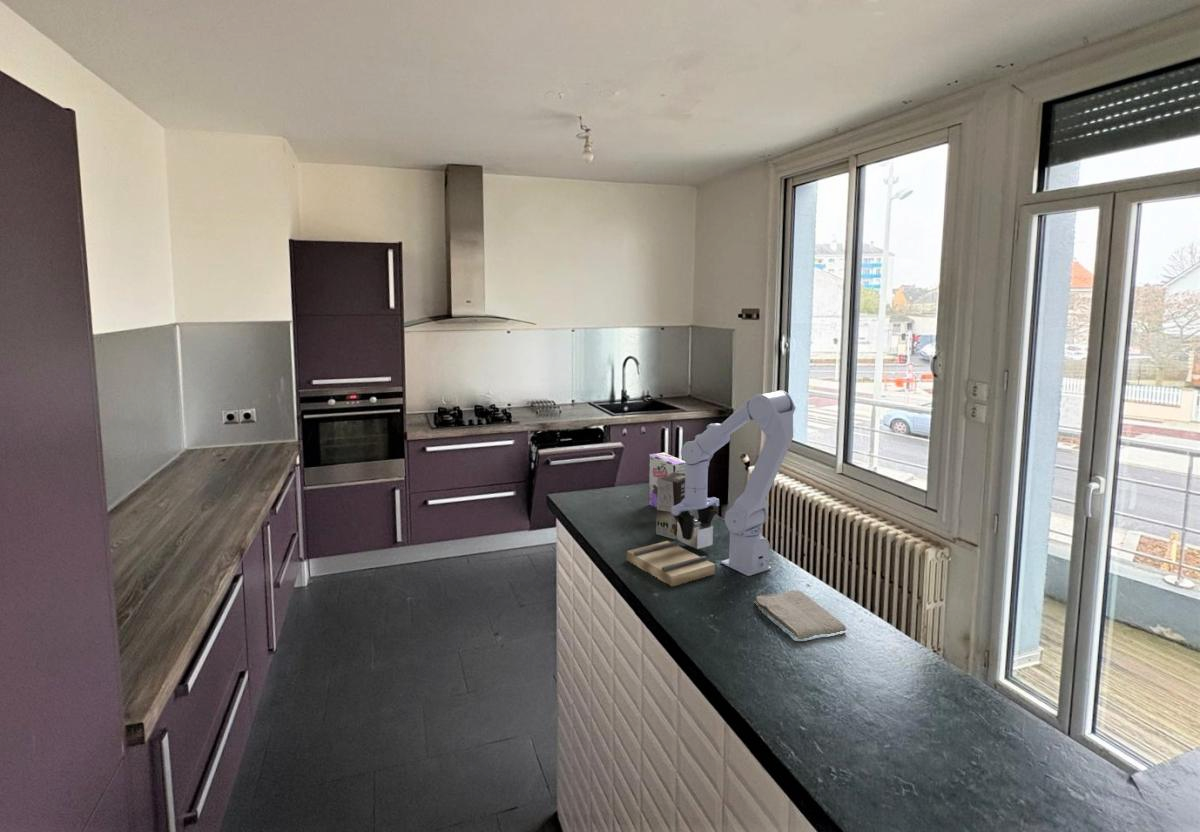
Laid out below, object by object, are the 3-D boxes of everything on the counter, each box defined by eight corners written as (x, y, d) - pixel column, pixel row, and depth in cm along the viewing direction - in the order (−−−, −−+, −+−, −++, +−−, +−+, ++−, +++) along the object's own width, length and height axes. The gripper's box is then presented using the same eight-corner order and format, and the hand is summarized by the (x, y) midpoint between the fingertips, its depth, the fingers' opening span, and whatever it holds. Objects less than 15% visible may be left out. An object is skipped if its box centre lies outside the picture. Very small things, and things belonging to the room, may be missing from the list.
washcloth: (796, 598, 153) (797, 585, 153) (849, 637, 137) (850, 622, 136) (749, 605, 150) (750, 592, 149) (797, 646, 133) (798, 632, 132)
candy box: (647, 504, 216) (648, 453, 213) (663, 502, 219) (664, 451, 216) (672, 518, 204) (673, 464, 201) (688, 515, 207) (690, 461, 204)
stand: (714, 574, 165) (715, 561, 164) (672, 586, 158) (672, 573, 157) (667, 549, 180) (667, 537, 179) (626, 560, 173) (626, 547, 172)
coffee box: (675, 539, 187) (677, 482, 183) (655, 534, 190) (656, 478, 187) (692, 530, 194) (694, 474, 191) (672, 525, 198) (674, 471, 194)
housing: (712, 544, 178) (713, 522, 177) (697, 549, 175) (697, 526, 174) (692, 535, 185) (692, 514, 184) (677, 539, 182) (677, 517, 181)
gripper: (707, 478, 184) (705, 526, 187) (664, 486, 177) (663, 537, 179) (725, 484, 179) (723, 534, 181) (681, 493, 171) (680, 545, 173)
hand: (694, 536), depth 180 cm, fingers closed on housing, 5 cm apart
